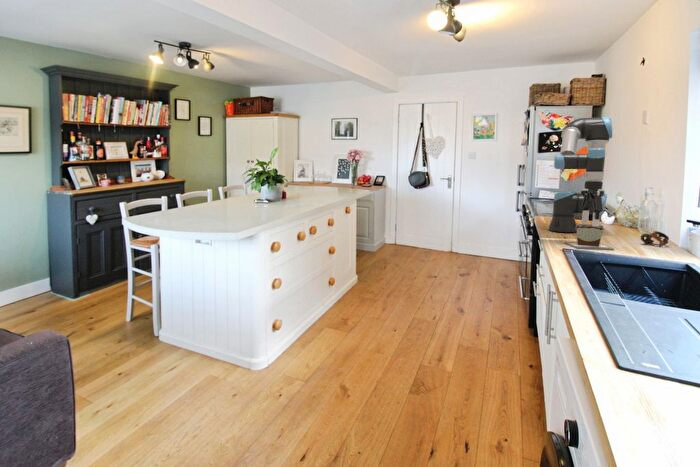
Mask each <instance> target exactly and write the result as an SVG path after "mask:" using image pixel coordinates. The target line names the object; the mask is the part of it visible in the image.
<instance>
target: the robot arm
mask: <svg viewBox="0 0 700 467" xmlns="http://www.w3.org/2000/svg"><path fill="white" fill-rule="evenodd" d="M560 136H561V139H562V142H561V146H560V147H561V148H560V151H559V153H558V154H555V156H554V162H553V163H554V164H553V166H554V167H553V168H554V169H555V170H585V173H584V176H585V178H584V187H583V188H582V189H581V190H580V192H578V191H577V190H570V191H562V192H561V191H560V192H556V193H555V194H554V197H553V209H552V218H551V220H550V222H549V225H548V229H547V230H548V231H550V232H561V233H562V232H563V233H577V229H575V228H576V226H577V223H576V218H575V216H576V214H579V215H581V216H582V217H581V224H588V225H589V218H590V217H589V216H590V215H592V222H591V225H592V226H599V225H600V221H601V220H600V219H601V215H602V214H603V213H604V211H605V210H604V209H605V206H606V203H607V198H608V194H606V193H605V190H604V188H603V183H604V182H603V181H604V175H605V174H604V173H605V172H604V171H605V170H604V169H605V162H606V160H605V159H606V145H607V144H608V143H609V142H610V139H612V138H613V121H612V118H611V117H608V116H597V117H580V118H579V117H578V118H577V119H574V120H572V121H570V122H569V123H567V124H566V125H565V126H564V127H563V129H562V131H561V135H560ZM578 140H585V142H584V143H585V144H587V153H578V154H577V149H578Z"/></svg>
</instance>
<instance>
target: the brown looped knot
mask: <svg viewBox="0 0 700 467" xmlns="http://www.w3.org/2000/svg"><path fill="white" fill-rule="evenodd" d="M662 238H663V239H662ZM653 239H654V240H653ZM640 240H641V241H642V242H643V244H645V245H648V244H653V243H654V241H655V240H656V241H658V242H659V244H657V245H658V247H659V248H661V247H663V246H665V245H666V246H667V244H668V243H669V240H670V237H669V236H668V235H667V234H665V233H663V232H661V231H658V230H656V231H655V230H654V231H653V232H652V233H649V234H648V233H642V234H641V236H640Z"/></svg>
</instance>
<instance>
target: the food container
mask: <svg viewBox="0 0 700 467" xmlns="http://www.w3.org/2000/svg"><path fill="white" fill-rule="evenodd" d="M576 225H577V226H576V228H575V229H577V232H576V243H577V245H582V246H593V247H599V245H600V244H601V240H602V235H603V231H605V227H604V225H600V224H599V226H592V224H589V223H588V224H582V223H581V224H579V223H576Z"/></svg>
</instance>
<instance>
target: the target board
mask: <svg viewBox="0 0 700 467" xmlns="http://www.w3.org/2000/svg"><path fill="white" fill-rule="evenodd" d="M564 244H565V245H567V246H568V247H569V246H570V247H573V248H574V249H576V250H596V251H597V250H599V251H600V250H602V251H614V250H615V248H612V247H609V246H608V245H603V244H601V243H600V245H599V247H593V246H582V245H577V242H564Z"/></svg>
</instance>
